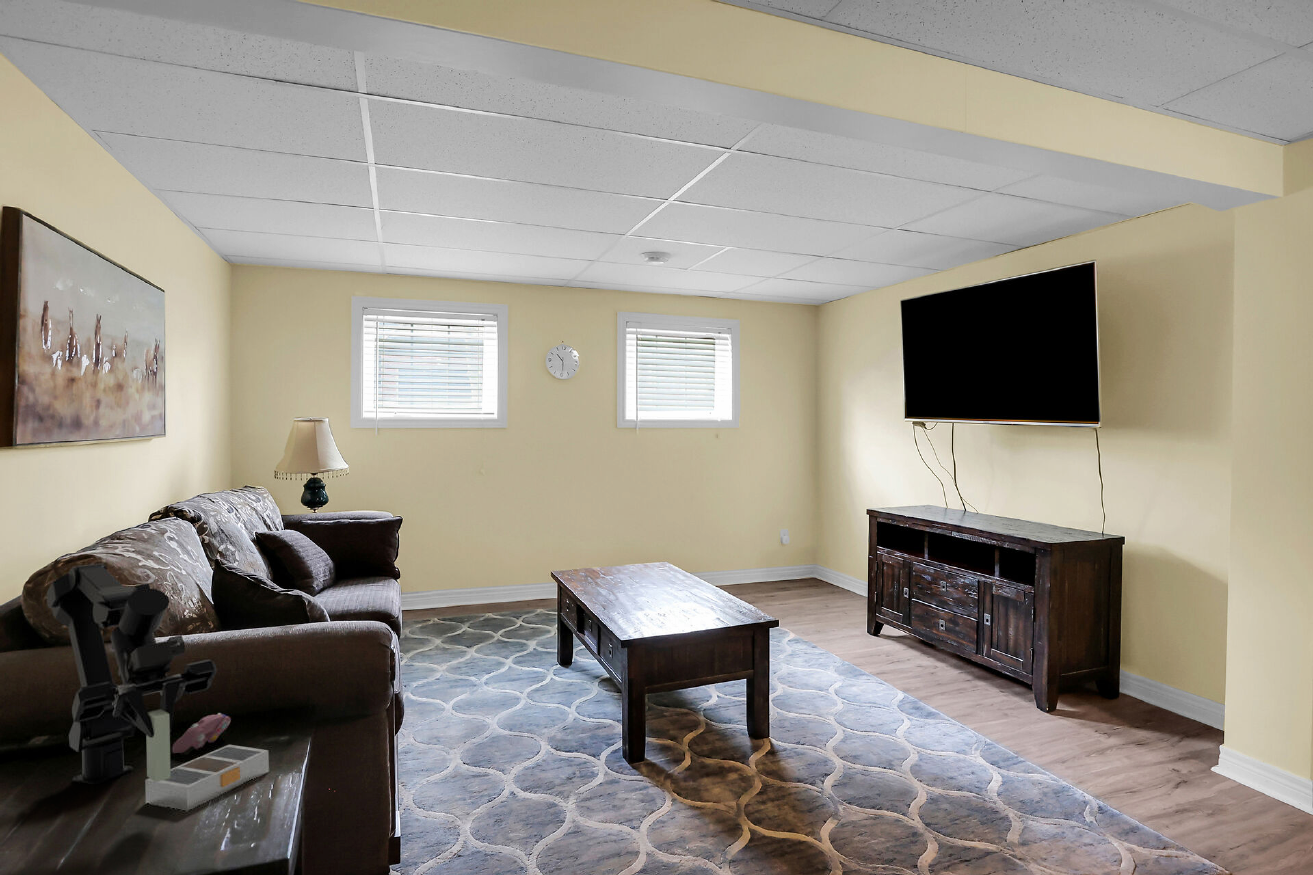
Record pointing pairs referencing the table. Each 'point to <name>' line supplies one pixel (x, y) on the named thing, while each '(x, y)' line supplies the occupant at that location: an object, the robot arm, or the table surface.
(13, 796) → the table surface
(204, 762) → the rack
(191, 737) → the video game controller
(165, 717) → the pale green rectangular block
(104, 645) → the robot arm
